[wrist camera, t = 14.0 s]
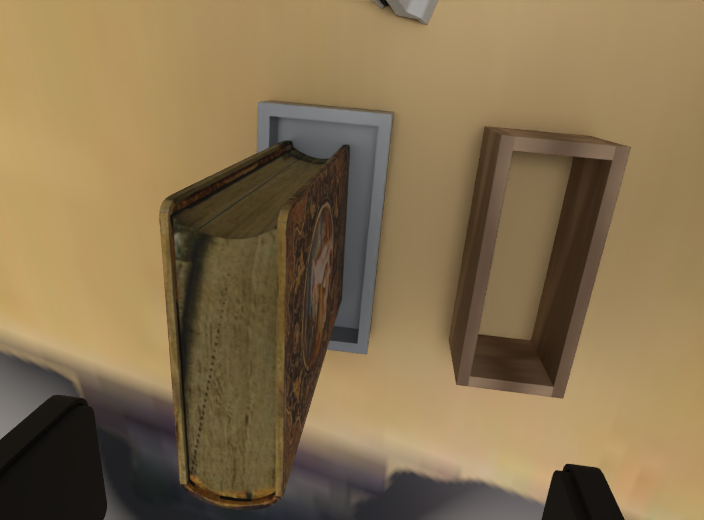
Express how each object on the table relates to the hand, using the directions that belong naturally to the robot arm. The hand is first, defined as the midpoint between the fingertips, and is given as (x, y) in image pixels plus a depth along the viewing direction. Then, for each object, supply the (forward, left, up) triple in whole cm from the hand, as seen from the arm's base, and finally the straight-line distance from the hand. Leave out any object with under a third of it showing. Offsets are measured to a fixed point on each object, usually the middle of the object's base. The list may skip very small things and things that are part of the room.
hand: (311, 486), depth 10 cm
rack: (-13, +6, -38) cm, 40 cm away
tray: (+5, +6, -38) cm, 38 cm away
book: (+6, +6, -37) cm, 38 cm away
